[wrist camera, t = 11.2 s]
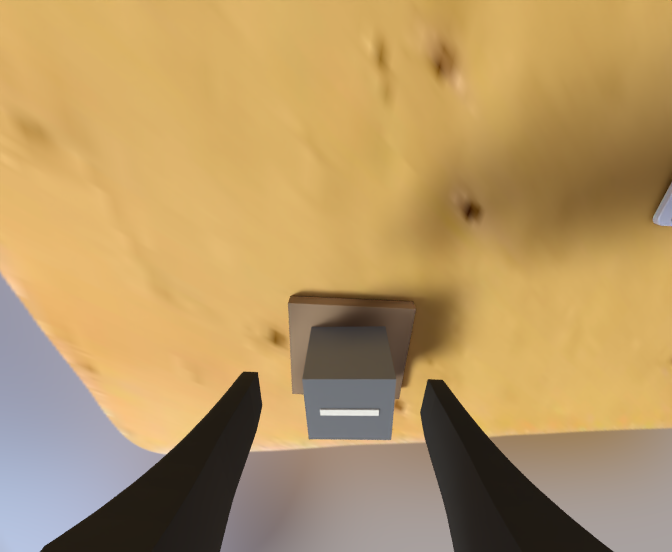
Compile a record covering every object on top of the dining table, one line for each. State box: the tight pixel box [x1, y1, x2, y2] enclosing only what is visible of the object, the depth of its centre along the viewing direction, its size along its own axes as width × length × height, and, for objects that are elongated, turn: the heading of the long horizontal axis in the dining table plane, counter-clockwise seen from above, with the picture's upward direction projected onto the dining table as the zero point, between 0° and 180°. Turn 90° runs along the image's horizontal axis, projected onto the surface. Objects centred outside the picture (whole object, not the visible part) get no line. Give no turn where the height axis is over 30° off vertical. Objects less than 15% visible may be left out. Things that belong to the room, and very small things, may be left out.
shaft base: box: [288, 296, 416, 399], centre depth 21 cm, size 9×9×4 cm
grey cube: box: [302, 326, 396, 440], centre depth 20 cm, size 5×5×5 cm
